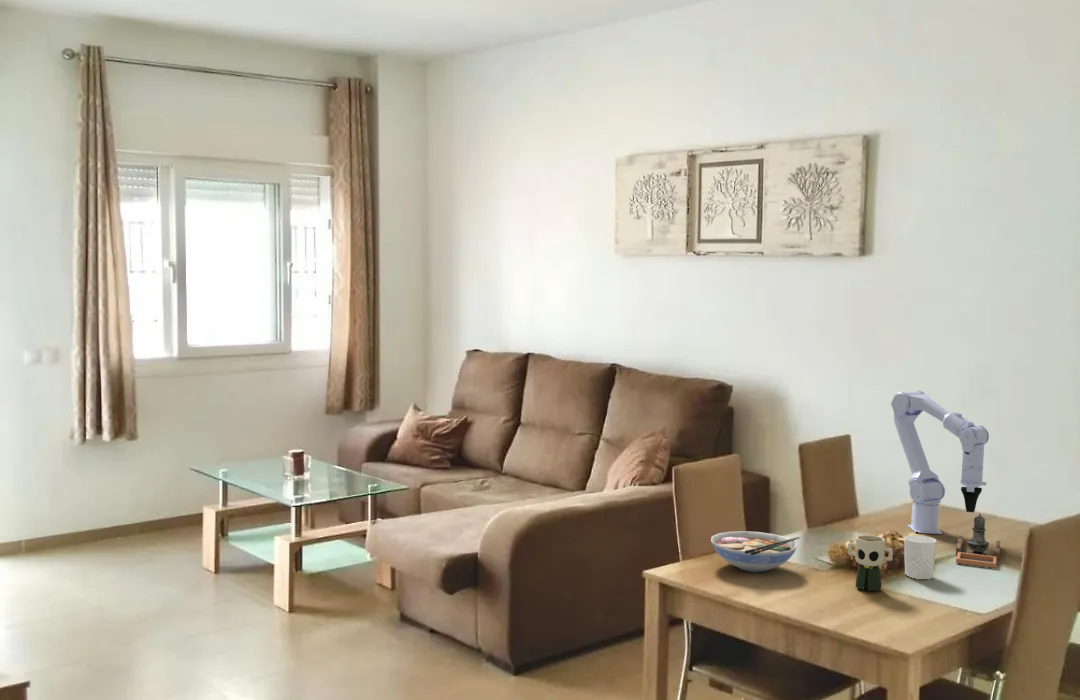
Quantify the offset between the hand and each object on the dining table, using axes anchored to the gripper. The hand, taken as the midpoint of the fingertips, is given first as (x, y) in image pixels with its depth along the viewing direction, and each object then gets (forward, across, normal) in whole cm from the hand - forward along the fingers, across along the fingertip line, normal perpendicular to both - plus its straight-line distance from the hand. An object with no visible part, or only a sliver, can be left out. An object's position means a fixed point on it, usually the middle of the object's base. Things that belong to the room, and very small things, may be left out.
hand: (970, 511), depth 304 cm
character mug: (+10, -64, +20) cm, 68 cm away
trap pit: (+9, -23, -3) cm, 25 cm away
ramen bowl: (+10, -60, +51) cm, 79 cm away
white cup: (+10, -45, +10) cm, 47 cm away
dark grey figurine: (+10, -13, -3) cm, 17 cm away
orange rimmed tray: (+9, -9, -3) cm, 14 cm away
